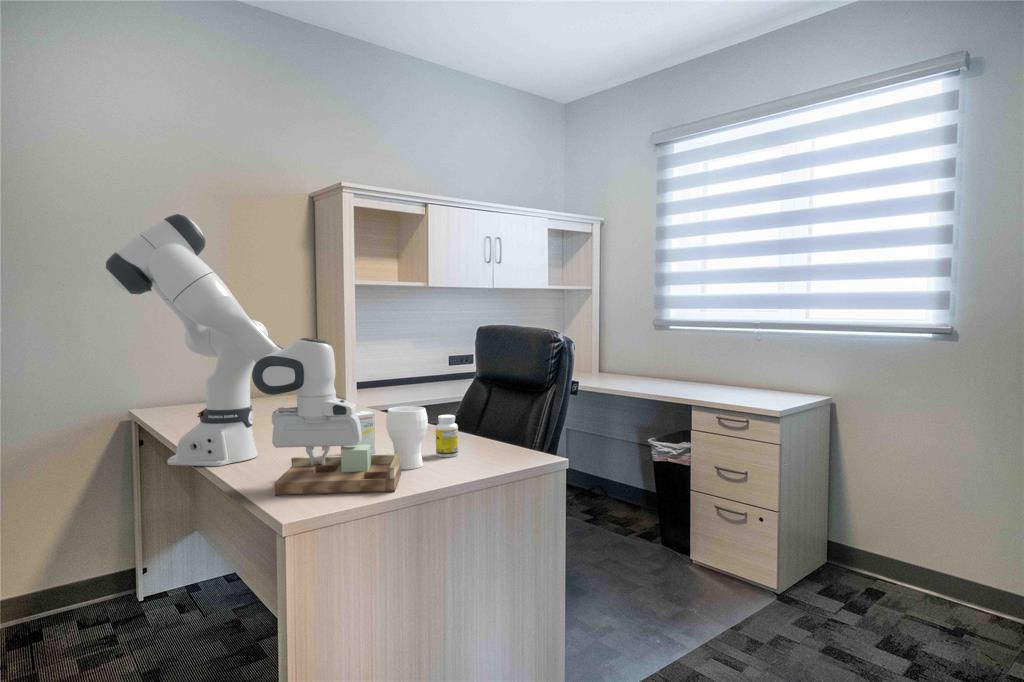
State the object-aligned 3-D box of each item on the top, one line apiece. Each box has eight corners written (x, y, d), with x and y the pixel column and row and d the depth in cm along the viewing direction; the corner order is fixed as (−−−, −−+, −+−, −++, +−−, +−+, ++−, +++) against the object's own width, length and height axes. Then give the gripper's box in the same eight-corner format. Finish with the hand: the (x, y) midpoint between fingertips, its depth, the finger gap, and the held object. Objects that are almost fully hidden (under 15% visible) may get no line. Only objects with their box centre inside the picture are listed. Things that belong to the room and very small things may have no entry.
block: (341, 471, 143) (341, 450, 143) (346, 465, 149) (345, 445, 149) (367, 471, 144) (367, 450, 144) (371, 464, 150) (370, 444, 150)
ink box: (348, 458, 169) (347, 415, 169) (340, 455, 173) (339, 413, 172) (376, 453, 175) (375, 412, 174) (368, 450, 178) (367, 410, 178)
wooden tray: (274, 496, 135) (273, 471, 135) (293, 477, 150) (292, 455, 150) (394, 492, 137) (394, 467, 137) (400, 474, 152) (400, 452, 152)
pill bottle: (436, 452, 175) (435, 414, 174) (458, 452, 175) (457, 413, 175) (435, 458, 169) (435, 418, 168) (458, 457, 169) (457, 417, 169)
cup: (380, 465, 161) (378, 408, 160) (416, 459, 168) (415, 404, 167) (398, 473, 153) (397, 413, 152) (435, 466, 159) (434, 409, 158)
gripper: (267, 409, 141) (269, 469, 142) (358, 407, 143) (359, 466, 143) (275, 405, 147) (277, 462, 148) (362, 403, 149) (363, 460, 150)
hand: (318, 464), depth 146 cm, fingers closed
